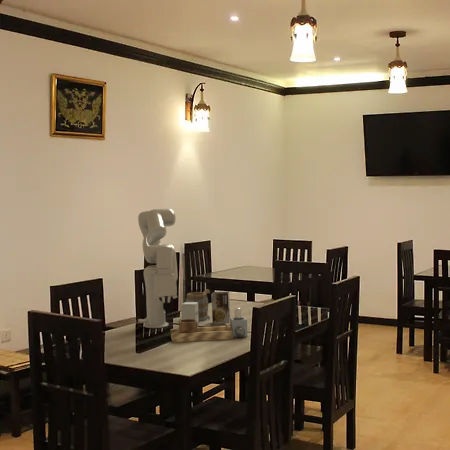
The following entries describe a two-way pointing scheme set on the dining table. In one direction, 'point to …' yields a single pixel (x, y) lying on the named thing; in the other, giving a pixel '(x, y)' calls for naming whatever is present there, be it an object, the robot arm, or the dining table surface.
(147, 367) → the dining table surface
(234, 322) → the grey hollow block
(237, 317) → the pin
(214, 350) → the dining table surface
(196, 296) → the tankard
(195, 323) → the crate
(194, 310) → the supplement box
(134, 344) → the dining table surface
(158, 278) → the robot arm
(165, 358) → the dining table surface
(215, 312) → the coffee box
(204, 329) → the tray
